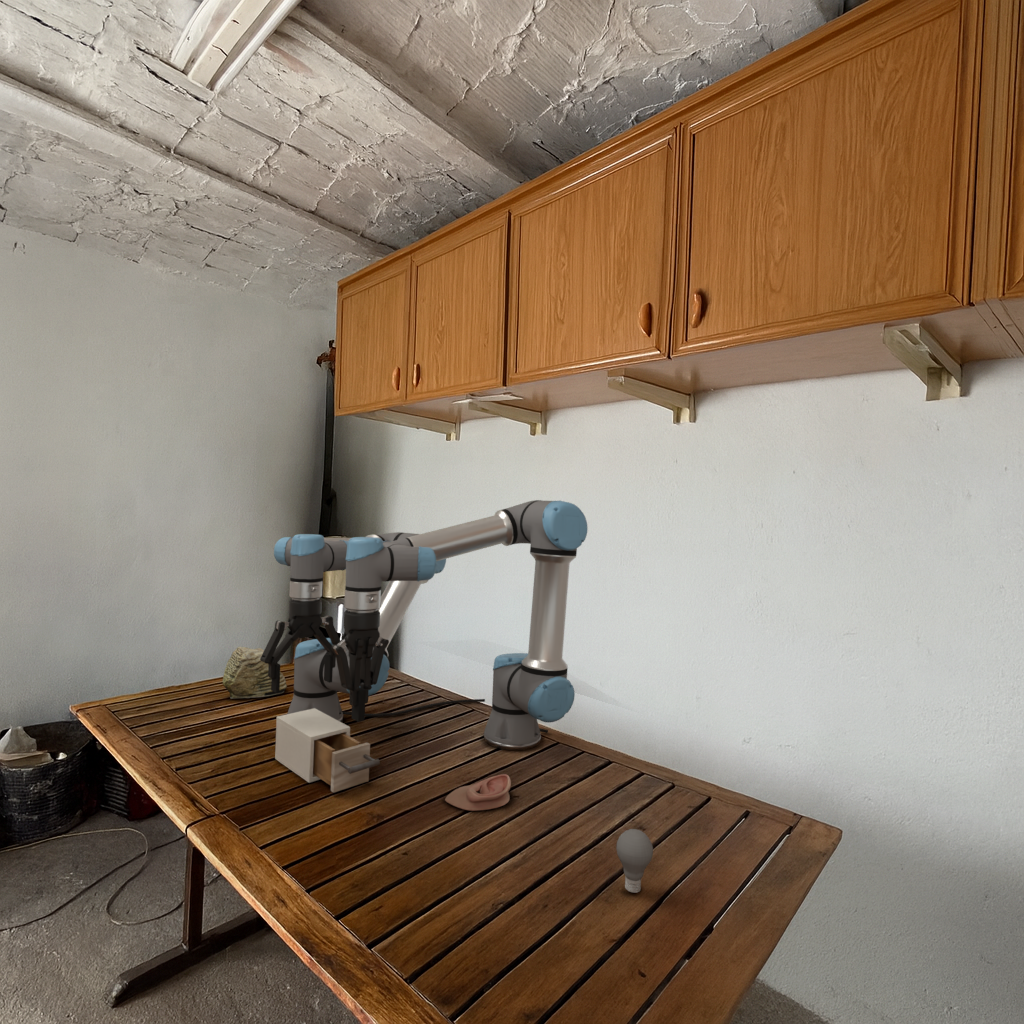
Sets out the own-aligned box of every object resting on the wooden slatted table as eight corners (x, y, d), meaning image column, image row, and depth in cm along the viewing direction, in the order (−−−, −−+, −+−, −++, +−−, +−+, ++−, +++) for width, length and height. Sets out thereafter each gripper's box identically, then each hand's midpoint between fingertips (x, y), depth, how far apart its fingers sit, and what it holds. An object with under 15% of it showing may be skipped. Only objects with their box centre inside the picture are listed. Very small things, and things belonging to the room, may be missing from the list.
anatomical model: (441, 787, 131) (457, 765, 142) (440, 806, 131) (456, 783, 143) (503, 796, 129) (514, 773, 140) (502, 816, 129) (513, 791, 140)
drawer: (382, 789, 136) (383, 751, 136) (346, 801, 130) (347, 761, 130) (332, 758, 151) (334, 724, 151) (298, 768, 145) (299, 732, 144)
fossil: (218, 695, 195) (220, 647, 195) (278, 685, 208) (279, 640, 207) (228, 703, 189) (230, 653, 188) (289, 692, 201) (290, 645, 201)
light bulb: (610, 879, 108) (613, 822, 108) (644, 879, 109) (647, 822, 109) (619, 902, 102) (622, 840, 102) (655, 901, 103) (658, 840, 103)
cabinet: (348, 770, 147) (350, 727, 147) (309, 783, 140) (310, 737, 140) (313, 748, 159) (314, 708, 158) (274, 758, 152) (276, 716, 151)
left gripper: (261, 605, 141) (258, 700, 141) (359, 596, 159) (356, 680, 159) (247, 600, 146) (244, 691, 147) (343, 592, 164) (340, 674, 164)
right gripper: (344, 615, 128) (339, 731, 128) (397, 609, 137) (393, 717, 138) (325, 609, 133) (321, 721, 133) (378, 604, 142) (374, 708, 143)
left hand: (302, 686), depth 153 cm, fingers open, 13 cm apart
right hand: (358, 719), depth 135 cm, fingers closed
